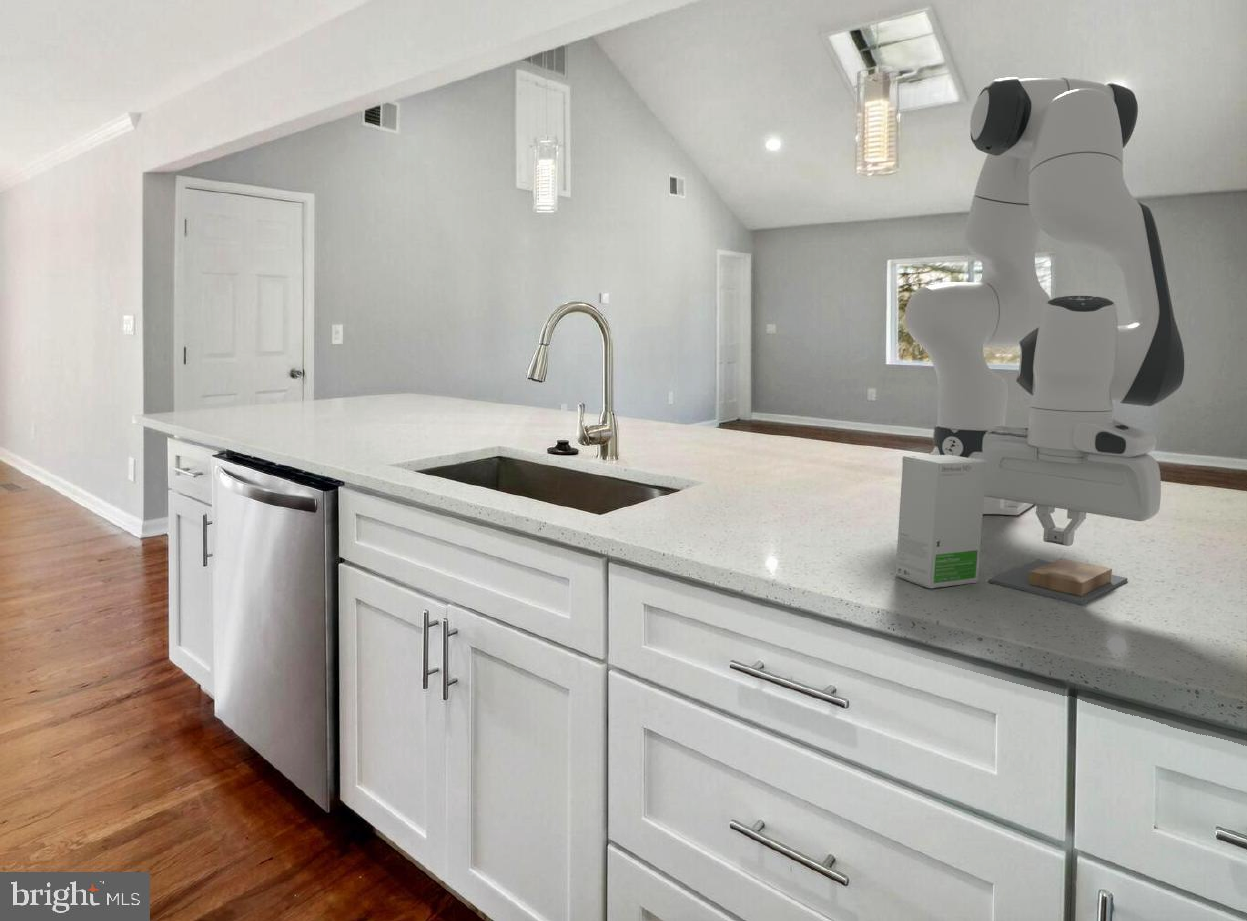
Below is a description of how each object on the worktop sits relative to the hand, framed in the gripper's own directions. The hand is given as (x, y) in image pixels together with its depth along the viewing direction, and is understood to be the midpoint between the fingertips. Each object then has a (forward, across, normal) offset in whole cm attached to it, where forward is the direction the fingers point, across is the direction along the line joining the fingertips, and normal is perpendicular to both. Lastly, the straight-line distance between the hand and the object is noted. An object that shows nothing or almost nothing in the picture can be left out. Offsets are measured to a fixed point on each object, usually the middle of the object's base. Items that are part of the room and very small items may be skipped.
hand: (1058, 543), depth 102 cm
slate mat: (+5, 0, +1) cm, 5 cm away
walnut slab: (+4, -1, 0) cm, 4 cm away
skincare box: (+5, -10, -10) cm, 15 cm away
